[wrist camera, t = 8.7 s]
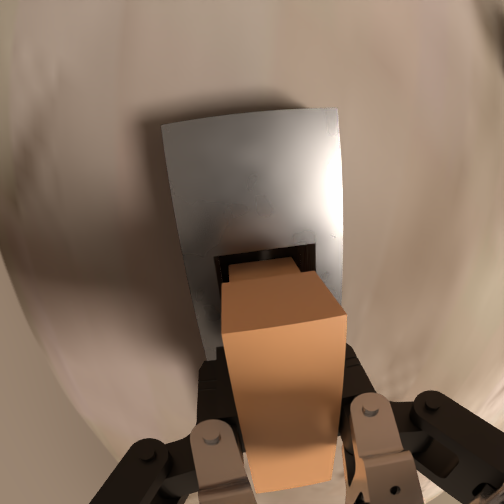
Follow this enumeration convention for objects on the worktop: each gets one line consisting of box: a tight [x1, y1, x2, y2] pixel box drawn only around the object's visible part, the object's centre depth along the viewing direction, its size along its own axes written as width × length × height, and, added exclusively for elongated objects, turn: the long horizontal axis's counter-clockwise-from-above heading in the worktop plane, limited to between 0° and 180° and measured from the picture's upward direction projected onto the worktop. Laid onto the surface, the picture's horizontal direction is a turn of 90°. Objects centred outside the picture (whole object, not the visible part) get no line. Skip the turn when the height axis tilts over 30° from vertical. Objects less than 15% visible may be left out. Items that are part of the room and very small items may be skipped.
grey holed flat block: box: [161, 108, 343, 361], centre depth 14 cm, size 6×18×3 cm, turn 6°
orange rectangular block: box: [221, 257, 347, 493], centre depth 11 cm, size 3×8×6 cm, turn 6°
